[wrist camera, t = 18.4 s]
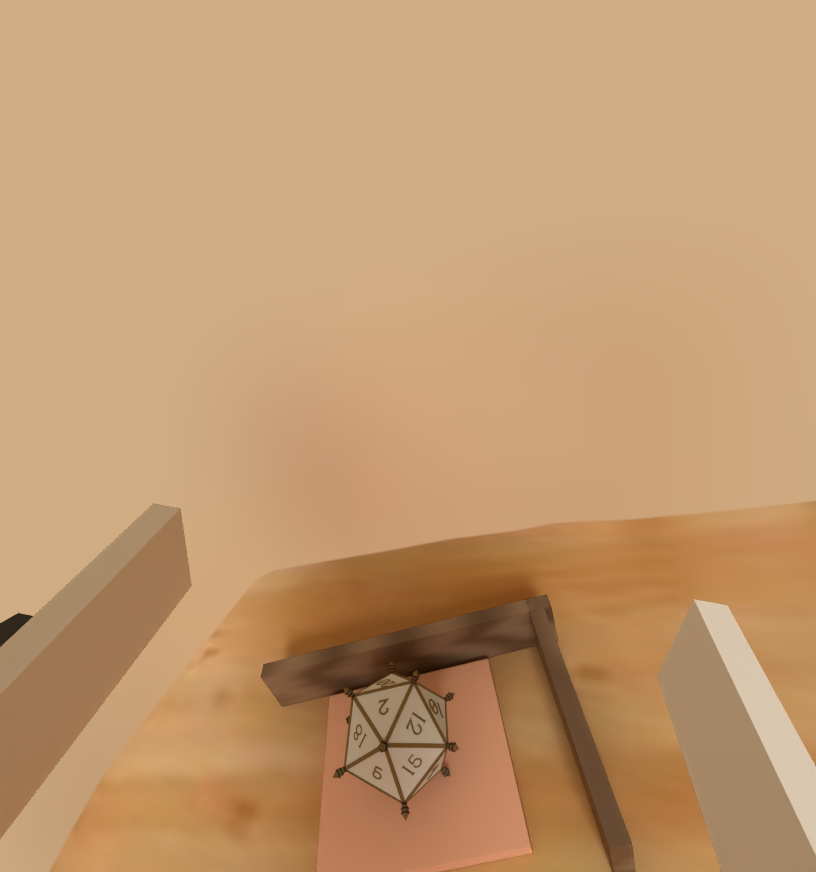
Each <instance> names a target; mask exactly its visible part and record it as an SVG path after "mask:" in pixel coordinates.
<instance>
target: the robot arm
mask: <svg viewBox="0 0 816 872" xmlns="http://www.w3.org/2000/svg"><path fill="white" fill-rule="evenodd" d="M190 587H191V579H190V572H189V565H188V557H187V551H186V544H185V537H184V530H183V523H182V516H181V509H180V508H175V507H169V506H164V505H158V504H152V505H151V506H150V507H149V508H148V509H147V510H146V511H145V512H144V513H143V514H142V515H141V516H140V517H139V518H138V519H136V520H135V521H134V522H133V523H132V524H131V525H130V526H129V527H128V528H127V529H126V530H125V531H124V532H123V533H122V534H121V535H119V537H117V538H116V539H115V540H114V541H113V542H112V543H111V544H110V545H109V546H108V547H107V548H106V549H105V550H103V551H102V552H101V553H100V554H99V555H98V556H97V557H96V558H95V559H94V560H93V561H92V562H91V563H90V564H89V565H88V566H86V567H85V568H84V569H83V570H82V571H81V572H80V573H79V574H78V575H77V576H76V577H75V578H74V579H72V580H71V581H70V582H69V583H68V584H67V585H66V586H65V587H64V588H63V589H62V590H61V591H60V592H59V593H58V594H57V595H55V596H54V597H53V598H52V599H51V600H50V601H49V602H48V603H47V604H46V605H45V606H44V607H43V608H42V609H41V610H39V611H38V612H37V613H36V614H35V615H34V616H30V615H25V614H20V613H18V614H16V615H14V616H12V617H11V618H9V619H7V620H5V621H4V622H2V623H0V839H1V837H2V836H3V835H4V834H5V832H6V831H7V829H8V828H9V827H10V826H11V824H12V823H13V822H14V820H15V819H16V817H17V816H18V815H19V814H20V812H21V811H22V809H23V808H24V807H25V806H26V804H27V803H28V802H29V800H30V799H31V798H32V797H33V795H34V794H35V792H36V791H37V790H38V789H39V787H40V786H41V785H42V783H43V782H44V781H45V779H46V778H47V777H48V775H49V774H50V773H51V771H52V770H53V769H54V767H55V766H56V765H57V763H58V762H59V761H60V759H61V758H62V757H63V755H64V754H65V753H66V751H67V750H68V749H69V747H70V746H71V745H72V744H73V742H74V741H75V740H76V738H77V737H78V735H79V734H80V733H81V732H82V730H83V729H84V728H85V726H86V725H87V724H88V722H89V721H90V720H91V718H92V717H93V716H94V714H95V713H96V712H97V710H98V709H99V708H100V706H101V705H102V704H103V702H104V701H105V700H106V698H107V697H108V696H109V694H110V693H111V691H112V690H113V689H114V688H115V687H116V685H117V684H118V683H119V681H120V680H121V679H122V677H123V676H124V675H125V673H126V672H127V670H128V669H129V668H130V667H131V665H132V664H133V663H134V661H135V660H136V659H137V657H138V656H139V655H140V653H141V652H142V650H143V649H144V648H145V647H146V645H147V644H148V642H149V641H150V640H151V639H152V637H153V636H154V635H155V633H156V632H157V631H158V630H159V628H160V627H161V626H162V624H163V623H164V622H165V620H166V619H167V617H168V616H169V615H170V614H171V612H172V611H173V610H174V608H175V607H176V606H177V604H178V603H179V602H180V600H181V599H182V598H183V596H184V595H185V594H186V592H187V591H188V590H189V588H190ZM657 677H658V680H659V683H660V686H661V689H662V692H663V695H664V698H665V701H666V704H667V707H668V710H669V713H670V716H671V720H672V723H673V726H674V729H675V732H676V735H677V738H678V741H679V744H680V747H681V750H682V753H683V756H684V759H685V762H686V765H687V768H688V771H689V775H690V778H691V781H692V784H693V787H694V790H695V793H696V796H697V799H698V802H699V805H700V808H701V811H702V814H703V817H704V820H705V823H706V826H707V829H708V833H709V836H710V839H711V842H712V845H713V848H714V851H715V854H716V857H717V860H718V863H719V866H720V869H721V872H816V766H815V765H814V763H813V761H812V759H811V757H810V755H809V754H808V752H807V750H806V748H805V746H804V745H803V743H802V741H801V739H800V737H799V735H798V734H797V732H796V730H795V728H794V726H793V724H792V723H791V721H790V719H789V717H788V715H787V713H786V712H785V710H784V708H783V706H782V704H781V703H780V701H779V699H778V697H777V695H776V693H775V692H774V690H773V688H772V686H771V684H770V682H769V681H768V679H767V677H766V675H765V673H764V672H763V670H762V668H761V666H760V664H759V662H758V661H757V659H756V657H755V655H754V653H753V651H752V650H751V648H750V646H749V644H748V642H747V640H746V639H745V637H744V635H743V633H742V631H741V630H740V628H739V626H738V624H737V622H736V620H735V619H734V617H733V615H732V613H731V611H730V609H729V608H728V606H727V605H722V604H716V603H711V602H705V601H700V600H694V601H693V603H692V605H691V607H690V609H689V611H688V613H687V615H686V617H685V619H684V621H683V623H682V625H681V627H680V629H679V631H678V633H677V635H676V637H675V640H674V642H673V644H672V646H671V648H670V650H669V652H668V654H667V656H666V658H665V660H664V662H663V664H662V666H661V668H660V670H659V672H658V674H657Z"/></svg>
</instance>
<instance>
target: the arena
mask: <svg viewBox="0 0 816 872" xmlns="http://www.w3.org/2000/svg"><path fill="white" fill-rule="evenodd" d="M556 641H558V638H557V633H556V628H555V623H554V618H553V613H552V608H551V605H550V602H549V600H548V597H547V594H546V595H542V596H538V597H534V598H530V599H526V600H522V601H518V602H514V603H510V604H506V605H502V606H498V607H494V608H490V609H486V610H481V611H477V612H473V613H469V614H465V615H461V616H457V617H453V618H449V619H445V620H441V621H437V622H433V623H429V624H425V625H421V626H417V627H413V628H409V629H405V630H401V631H396V632H392V633H388V634H384V635H380V636H376V637H372V638H368V639H364V640H360V641H356V642H352V643H348V644H344V645H340V646H336V647H332V648H328V649H324V650H320V651H316V652H311V653H307V654H303V655H299V656H295V657H291V658H287V659H283V660H279V661H275V662H271V663H267V664H263V669H262V674H261V678H262V679H263V681H264V682H265V683H266V685H267V686H268V688H269V689H270V690H271V692H272V693H273V695H274V696H275V697H276V699H277V700H278V702H279V703H280V704H281V706H286V705H291V704H295V703H299V702H303V701H307V700H312V699H316V698H320V697H324V696H328V695H333V694H337V693H341V692H344V689H343V688H350V689H351V690H354V689H358V688H362V687H366V686H369V685H371V684H373V683H374V682H376V681H378V680H380V679H381V678H383V677H385V676H387V675H388V674H390V672H389V671H388V669H389V668H388V666H389V664H390V662H392V663H393V664H394V665H395V671H394V673H396V674H399V675H401V676H404V677H408V676H411V675H412V672H415V671H416V670H417V671H418V674H421V673H425V672H429V671H433V670H437V669H442V668H446V667H450V666H454V665H458V664H463V663H467V662H471V661H475V660H479V659H483V658H488V657H492V656H496V655H500V654H504V653H509V652H513V651H517V650H521V649H525V648H530V647H534V646H538V649H539V652H540V655H541V658H542V661H543V664H544V667H545V670H546V673H547V676H548V679H549V682H550V685H551V688H552V691H553V694H554V697H555V700H556V703H557V706H558V709H559V712H560V715H561V718H562V721H563V724H564V727H565V730H566V733H567V736H568V739H569V742H570V745H571V748H572V751H573V754H574V757H575V760H576V763H577V766H578V769H579V772H580V775H581V778H582V781H583V784H584V787H585V790H586V793H587V796H588V799H589V802H590V805H591V808H592V811H593V814H594V817H595V820H596V823H597V826H598V829H599V832H600V835H601V838H602V841H603V844H604V847H605V850H606V853H607V856H608V859H609V862H610V865H611V868H612V871H613V872H636V871H635V863H634V856H633V848H632V842H631V839H630V837H629V834H628V831H627V829H626V826H625V823H624V821H623V818H622V815H621V813H620V810H619V807H618V805H617V802H616V799H615V797H614V794H613V791H612V789H611V786H610V783H609V781H608V778H607V775H606V773H605V770H604V767H603V765H602V762H601V759H600V757H599V754H598V751H597V749H596V746H595V743H594V741H593V738H592V735H591V733H590V730H589V727H588V725H587V722H586V719H585V717H584V714H583V711H582V709H581V706H580V703H579V701H578V698H577V695H576V693H575V690H574V687H573V685H572V682H571V679H570V677H569V674H568V671H567V669H566V666H565V663H564V661H563V658H562V655H561V653H560V650H559V647H558V645H557V642H556Z"/></svg>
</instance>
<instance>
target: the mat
mask: <svg viewBox="0 0 816 872" xmlns="http://www.w3.org/2000/svg"><path fill="white" fill-rule="evenodd" d="M419 676H420V677H418V680H417V681H416V682H418V683H420V684H421V685H423V686H425V687H427V688H428V689H430V690H432V691H433V692H435V693H437V694H439V695H440V696H442V697H445V696H446V694H448V692H450V693H455V694H454V697H453V700H451V701H447V702H446V706H447V724H448V741H449V743H451V742H453V743H454V742H456V745H457V746H458V748H459V750H457V751H455V752H452V751H449V749H448V750H447V753H446V757H445V760H444V764H443V767H446V768H447V769H449V770H450V771H449V772H450V775H451V776H446V777H444V775H442V773H441V771H440V772H439V773H438V774H437V775H436V776H434V777H433V778H432V779H431V780H430V781H429V782H428V783H427V784H426V785H425V786H424V787H423V788H422V789H421V790H420V791H419V792H418V793H417V794H416V795H415V796H413V797H412V798H411V799H410V800H409V801H408V802H407V806H408V807H409V812H410V813H409V814H408V817H407V819H406V821H405V819H404V817H403V816H402V815H401V812H402V810H401V808H402V804H401V803H399V802H398V801H396V800H394V799H393V798H391V797H389V796H387V795H386V794H384V793H382V792H379V790H377V789H375V788H374V787H372V786H370V785H368V784H367V783H365V782H363V781H361V780H360V779H358V778H356V777H355V776H353V775H351V774H349V773H348V772H345V773H344V774H343V776H341V777H340V779H339V778H333V775H334V773H335V771H336V769H339V767H340V768H341V767H343V766H344V761H345V752H346V743H347V734H348V725H349V724H347V721H346V718H347V717H348V716H350V708H351V699H352V698H351V697H348V696H347V695H345V693H341V694H337V695H333V696H329V709H328V722H327V735H326V748H325V761H324V775H323V788H322V801H321V814H320V827H319V840H318V853H317V867H316V872H441V871H446V870H451V869H456V868H461V867H466V866H471V865H476V864H481V863H486V862H491V861H495V860H500V859H505V858H510V857H515V856H520V855H525V854H530V853H533V850H532V846H531V841H530V837H529V833H528V828H527V824H526V820H525V815H524V811H523V807H522V802H521V798H520V794H519V789H518V785H517V780H516V776H515V772H514V767H513V763H512V759H511V754H510V750H509V746H508V741H507V737H506V733H505V728H504V724H503V719H502V715H501V711H500V706H499V702H498V698H497V693H496V689H495V685H494V680H493V676H492V672H491V667H490V664H489V661H488V659H484V660H480V661H475V662H471V663H467V664H463V665H459V666H454V667H450V668H446V669H442V670H438V671H434V672H429V673H425V674H421V675H419ZM408 678H409V679H411V677H408ZM362 689H364V688H362ZM362 689H358V690H354V691H353V692H354V693H357V692H359V691H361V690H362Z"/></svg>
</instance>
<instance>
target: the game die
mask: <svg viewBox="0 0 816 872" xmlns="http://www.w3.org/2000/svg"><path fill="white" fill-rule="evenodd" d="M388 668H389V669H388V671H389V672H390V674H388V675H387V676H385V677H383V678H381V679H380V680H378V681H376V682H374V683H373V684H371V685H369V686H368V687H366V688H364V689H362V690H361V691H359V692H357V693H354V692H353V690H351V689H350V688H343V689H344V692H345V695H347V696H348V697H351V698H352V699H351V708H350V716H348V717H347V718H346V721H347V724H349V725H348V734H347V743H346V752H345V761H344V766H343V767H341V768H340V767H339V769H336V771H335V773H334V775H333V778H339V779H340V777H341V776H343V774H344V773H345V772H348V773H349V774H351V775H353V776H355V777H356V778H358V779H360V780H361V781H363V782H365V783H367V784H368V785H370V786H372V787H374V788H375V789H377V790H379V792H382V793H384V794H386V795H387V796H389V797H391V798H393V799H394V800H396V801H398V802H399V803H401V804H402V808H401V810H402V812H401V815H402V816H403V817H404V819H405V821H406V819H407V817H408V814H409V813H410V812H409V807H408V806H407V802H408V801H409V800H410V799H411V798H412V797H413V796H415V795H416V794H417V793H418V792H419V791H420V790H421V789H422V788H423V787H424V786H425V785H426V784H427V783H428V782H429V781H430V780H431V779H432V778H433V777H434V776H436V775H437V774H438V773H439V772H440V771H441V773H442V775H444V777H446V776H451V775H450V772H449V771H450V770H449V769H447V768H446V767H443V764H444V760H445V757H446V753H447V750H448V749H449V751H452V752H455V751H457V750H459V748H458V746H457V745H456V742H454V743H453V742H451V743H449V741H448V724H447V706H446V702H447V701H451V700H453V697H454V694H455V693H450V692H448V694H446V696H445V697H442V696H440V695H439V694H437V693H435V692H433V691H432V690H430V689H428V688H427V687H425V686H423V685H421V684H420V683H418V682H416V681H417V680H418V677H420V676H419V674H418V671H417V670H416V671H415V672H412V675H411V679H409V678H407V677H404V676H401V675H399V674H396V673H394V671H395V665H394V664H393V663H392V662H390V664H389V666H388Z"/></svg>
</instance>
